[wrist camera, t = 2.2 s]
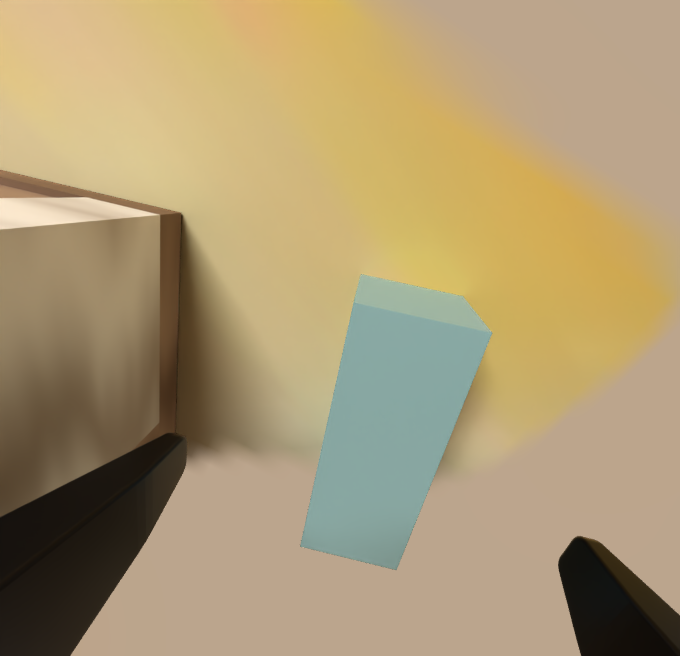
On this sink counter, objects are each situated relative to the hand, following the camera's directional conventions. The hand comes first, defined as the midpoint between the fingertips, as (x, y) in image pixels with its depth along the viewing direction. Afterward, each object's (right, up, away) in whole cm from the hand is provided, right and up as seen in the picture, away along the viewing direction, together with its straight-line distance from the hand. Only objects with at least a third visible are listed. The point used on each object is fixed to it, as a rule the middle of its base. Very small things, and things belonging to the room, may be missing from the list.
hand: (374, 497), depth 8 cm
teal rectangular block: (+1, +2, +4) cm, 4 cm away
